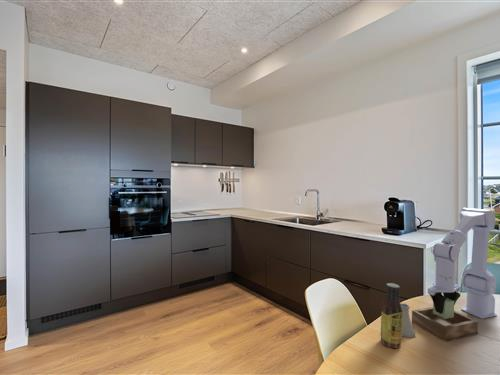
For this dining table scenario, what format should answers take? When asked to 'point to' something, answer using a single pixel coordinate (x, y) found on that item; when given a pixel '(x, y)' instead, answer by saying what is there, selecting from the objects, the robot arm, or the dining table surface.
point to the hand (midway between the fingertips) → (443, 311)
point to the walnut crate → (445, 324)
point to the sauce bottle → (391, 317)
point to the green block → (446, 309)
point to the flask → (406, 322)
